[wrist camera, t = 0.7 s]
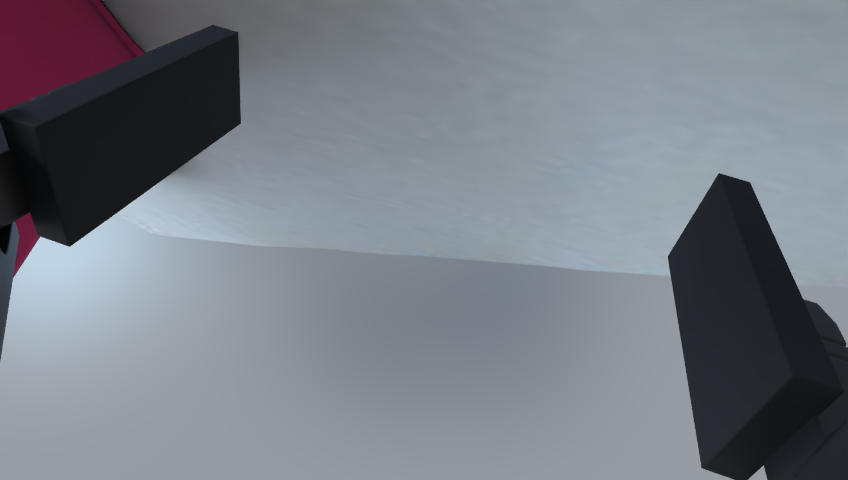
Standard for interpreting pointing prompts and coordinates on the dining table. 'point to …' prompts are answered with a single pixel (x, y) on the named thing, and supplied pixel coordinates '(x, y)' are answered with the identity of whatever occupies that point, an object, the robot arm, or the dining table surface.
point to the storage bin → (54, 59)
